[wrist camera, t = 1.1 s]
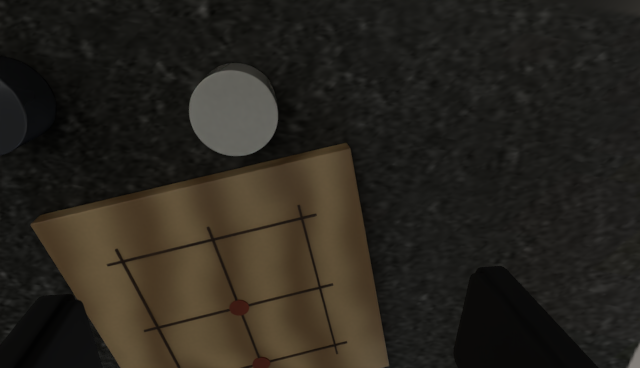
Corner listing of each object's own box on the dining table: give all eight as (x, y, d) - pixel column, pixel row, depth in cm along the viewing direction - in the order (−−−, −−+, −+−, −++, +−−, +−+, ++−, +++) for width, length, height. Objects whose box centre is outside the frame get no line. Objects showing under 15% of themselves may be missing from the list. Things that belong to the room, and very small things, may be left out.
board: (346, 142, 24) (350, 148, 23) (385, 354, 33) (389, 367, 32) (40, 214, 24) (28, 225, 23) (160, 411, 33) (156, 426, 31)
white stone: (265, 54, 22) (265, 61, 19) (284, 130, 24) (287, 145, 21) (186, 72, 22) (175, 81, 19) (212, 147, 24) (205, 165, 21)
